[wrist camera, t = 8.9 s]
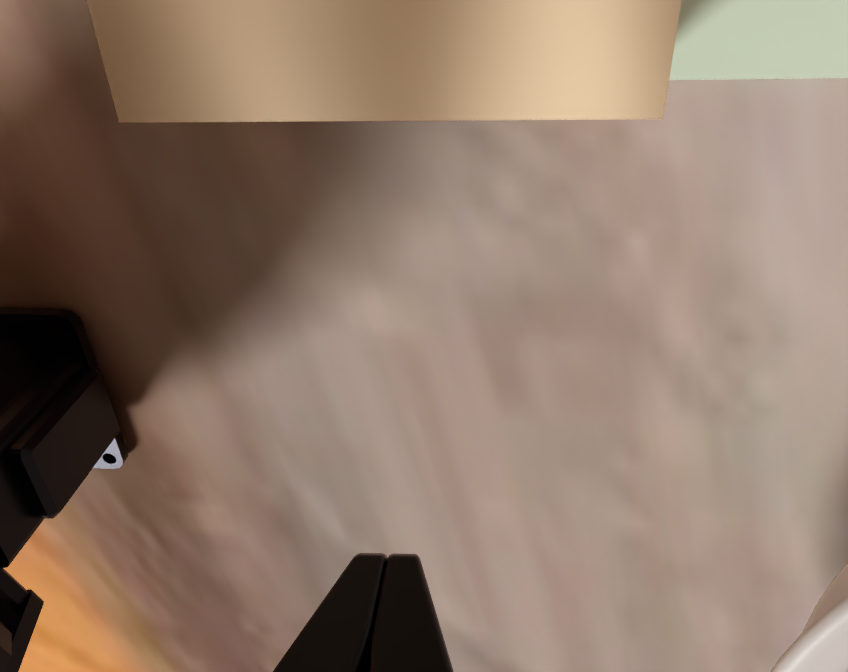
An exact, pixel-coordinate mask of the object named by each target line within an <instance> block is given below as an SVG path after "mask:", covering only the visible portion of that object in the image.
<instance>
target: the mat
mask: <svg viewBox="0 0 848 672" xmlns="http://www.w3.org/2000/svg"><path fill="white" fill-rule="evenodd" d="M795 78H848V0H682V1H681V7H680V14H679V20H678V27H677V33H676V39H675V46H674V52H673V58H672V65H671V71H670V78H669V80H714V79H795Z"/></svg>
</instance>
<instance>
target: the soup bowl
mask: <svg viewBox="0 0 848 672" xmlns="http://www.w3.org/2000/svg"><path fill="white" fill-rule="evenodd" d="M771 672H848V563H847V564H846V565H845V566H844V567H843V569H842V570H841V571H840V572H839V573H838V575H837V576H836V577H835V578H834V580H833V581H832V583H831V584H830V585H829V587H828V588H827V590H826V591H825V593H824V594H823V596H822V597H821V599H820V600H819V602H818V604H817V605H816V607H815V609H814V611H813V613H812V615H811V617H810V618H809V620H808V622H807V624H806V626H805V628H804V631H803V633H802V634H801V635H800V636H799V637H798V639H797V640H796V641H795V642H794V643H793V644H792V645H791V646H790V648H789V649H788V650H787V651H786V652H785V653H784V654H783V655H782V657H781V658H780V659H779V660H778V662H777V663H776V664H775V666H774V667H773V669H772V670H771Z"/></svg>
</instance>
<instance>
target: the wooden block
mask: <svg viewBox="0 0 848 672" xmlns="http://www.w3.org/2000/svg"><path fill="white" fill-rule="evenodd" d="M86 1H87V5H88V9H89V12H90V16H91V20H92V24H93V27H94V31H95V35H96V39H97V42H98V46H99V50H100V53H101V57H102V61H103V65H104V68H105V72H106V76H107V80H108V83H109V87H110V91H111V94H112V98H113V102H114V106H115V109H116V113H117V117H118V121H119V123H155V122H302V121H449V120H596V119H663V116H664V110H665V103H666V97H667V90H668V84H669V78H670V71H671V65H672V58H673V52H674V46H675V39H676V33H677V27H678V20H679V14H680V7H681V1H682V0H86Z"/></svg>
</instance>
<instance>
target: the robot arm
mask: <svg viewBox="0 0 848 672" xmlns="http://www.w3.org/2000/svg"><path fill="white" fill-rule="evenodd" d="M60 322H62V323H63V324H65V325H66V326H67V327H68V328H65V327H64V326H62V324H61V323H60ZM111 454H112V455H111ZM127 457H128V451H127V448H126V446H125V443H124V440H123V437H122V434H121V431H120V427H119V424H118V421H117V418H116V416H115V413H114V410H113V407H112V404H111V401H110V399H109V396H108V393H107V390H106V387H105V384H104V382H103V379H102V376H101V374H100V372H99V369H98V366H97V363H96V360H95V357H94V355H93V352H92V349H91V346H90V343H89V340H88V338H87V335H86V332H85V329H84V326H83V323H82V321H81V320H80V318H79V317H78V316H77V315H76V314H75V313H74V312H72V311H70V310H67V309H54V308H8V307H0V672H18V671H19V668H20V665H21V663H22V660H23V657H24V655H25V652H26V649H27V646H28V644H29V641H30V638H31V636H32V633H33V630H34V628H35V625H36V622H37V620H38V617H39V614H40V612H41V609H42V606H43V600H42V599H41V598H40V597H38V596H37V595H36V594H35V593H34V592H33V591H32V590H26V589H25V588H24V587H23V586H21V585H20V584H19V583H18V582H17V581H16V580H15V579H14V578H13V577H12V576H11V575H10V574H9V573H8V572H6V571H5V570H4V569H3V568H5V567H8V566H9V565H10V563H11V562H12V561H13V559H14V558H15V557H16V555H17V554H18V553H19V551H20V550H21V549H22V547H23V546H24V545H25V543H26V542H27V541H28V539H29V538H30V537H31V535H32V534H33V533H34V532H35V530H36V529H37V528H38V526H39V525H40V524H41V522H42V521H43V520H44V518H54V517H55V516H57V515H58V514H59V512H60V511H61V510H62V509H63V507H64V506H65V505H66V503H67V502H68V501H69V499H70V498H71V497H72V495H73V494H74V493H75V491H76V490H77V489H78V487H79V486H80V484H81V483H82V482H83V480H84V479H85V478H86V476H87V475H88V474H89V472H90V471H91V470H92V468H103V469H117V468H119V467H121V466H122V465H123V463H124V462H125V460H126V459H127ZM273 672H453V668H452V665H451V662H450V658H449V655H448V652H447V648H446V645H445V641H444V638H443V635H442V631H441V628H440V625H439V621H438V618H437V615H436V611H435V608H434V605H433V601H432V598H431V594H430V591H429V588H428V584H427V581H426V578H425V574H424V571H423V568H422V564H421V561H420V558H419V557H418V555H416V554H391V555H389V557H388V558H387V556H386V555H385V554H382V553H360V554H357V555H356V556H355V557H354V558H353V559H352V560H351V562H350V563H349V565H348V566H347V567H346V569H345V570H344V572H343V573H342V575H341V576H340V577H339V579H338V580H337V582H336V583H335V584H334V586H333V587H332V589H331V590H330V591H329V593H328V594H327V596H326V597H325V599H324V600H323V601H322V603H321V604H320V606H319V607H318V608H317V610H316V611H315V613H314V614H313V616H312V617H311V618H310V620H309V621H308V623H307V624H306V625H305V627H304V628H303V630H302V631H301V633H300V634H299V635H298V637H297V638H296V640H295V641H294V642H293V644H292V645H291V647H290V648H289V649H288V651H287V652H286V654H285V655H284V657H283V658H282V659H281V661H280V662H279V664H278V665H277V666H276V668H275V669H274V671H273Z"/></svg>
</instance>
